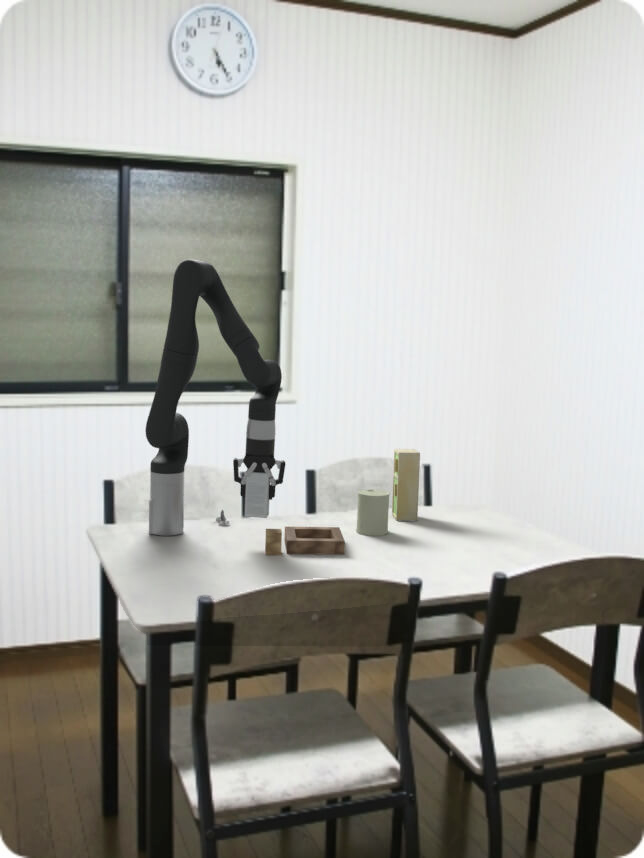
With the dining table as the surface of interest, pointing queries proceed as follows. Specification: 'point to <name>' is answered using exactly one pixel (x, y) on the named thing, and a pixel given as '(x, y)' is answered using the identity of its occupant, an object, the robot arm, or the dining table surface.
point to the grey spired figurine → (222, 519)
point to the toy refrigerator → (405, 484)
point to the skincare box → (257, 495)
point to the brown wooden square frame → (314, 540)
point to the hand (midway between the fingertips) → (257, 498)
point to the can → (372, 512)
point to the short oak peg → (273, 542)
